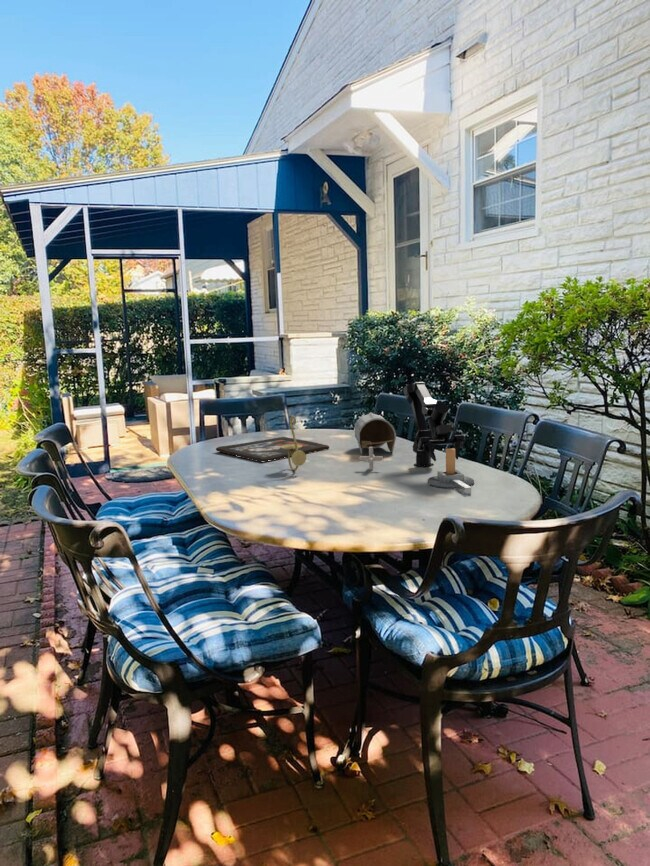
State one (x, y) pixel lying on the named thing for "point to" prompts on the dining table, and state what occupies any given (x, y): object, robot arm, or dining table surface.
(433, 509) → the dining table surface
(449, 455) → the pin
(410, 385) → the robot arm
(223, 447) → the religious icon
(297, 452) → the wall sconce
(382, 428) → the helmet
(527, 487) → the dining table surface
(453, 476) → the rosette plate
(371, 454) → the pipe connector
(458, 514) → the dining table surface
